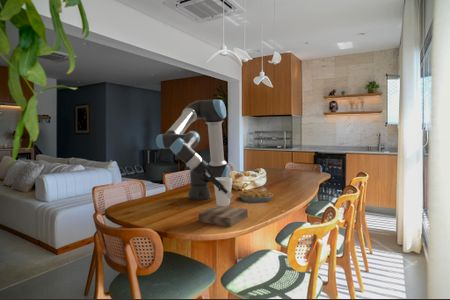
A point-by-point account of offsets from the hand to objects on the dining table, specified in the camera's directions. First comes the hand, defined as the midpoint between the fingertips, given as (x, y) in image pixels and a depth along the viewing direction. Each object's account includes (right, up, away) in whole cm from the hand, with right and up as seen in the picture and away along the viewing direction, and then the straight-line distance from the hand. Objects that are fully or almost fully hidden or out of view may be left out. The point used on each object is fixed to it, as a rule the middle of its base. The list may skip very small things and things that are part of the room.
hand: (229, 194), depth 145 cm
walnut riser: (-3, -12, 0) cm, 13 cm away
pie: (+18, -10, +45) cm, 49 cm away
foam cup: (-3, -5, 0) cm, 6 cm away
